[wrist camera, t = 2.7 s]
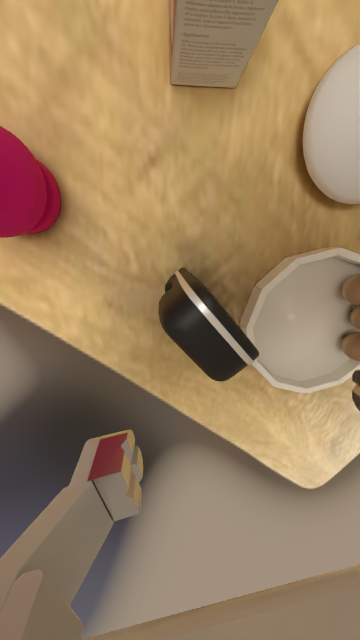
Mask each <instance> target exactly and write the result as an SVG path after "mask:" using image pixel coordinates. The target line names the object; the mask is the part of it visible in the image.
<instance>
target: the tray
mask: <svg viewBox="0 0 360 640" xmlns="http://www.w3.org/2000/svg"><path fill="white" fill-rule="evenodd" d="M357 274H360V254H358V253H355V252H352V251H349V250H346V249H343V248H341V247H325V248H321V249H317V250H313V251H309V252H305V253H301V254H297V255H293V256H289V257H286V258H285V259H283V260H282V261H281V262H280V263H279V264H278V265H277V266H276V267H275V268H273V269H272V270H271V271H270V272H269V273H268V274H267V275H266V276H265V277H263V278H262V279H261V280H260V281H259V282H258V283H257V284H256V285H255V287H253V290H252V292H251V295H250V297H249V300H248V302H247V305H246V308H245V310H244V313H243V315H242V318H241V320H240V328H241V330H242V331H243V332H244V334H245V335H246V336H247V337H248V338H249V340H250V341H251V342H252V343H253V344H254V346H255V347H256V348H257V350H258V351H259V356H258V357H257V358H256V359H255V360H254V363H252V365H253V366H254V367H255V368H256V369H257V370H258V371H259V372H260V373H261V374H262V375H263V376H264V377H265V379H266V380H267V381H268V382H269V383H270V384H271V385H272V386H274V387H277V388H281V389H286V390H291V391H295V392H300V393H304V394H305V393H310V392H314V391H318V390H322V389H326V388H330V387H333V386H337V385H340V384H342V383H343V382H345V381H346V380H347V379H349V378H350V377H351V376H352V374H353V373H354V371H355V370H359V369H360V361H356V360H353V359H351V358H349V357H348V356H347V355H346V354H345V353H344V352H343V350H342V341H343V339H344V338H345V337H346V336H347V335H349V334H351V333H355V332H360V330H359V329H357V328H356V327H355V326H354V325H353V324H352V322H351V318H350V317H351V312H352V310H353V309H354V308H355V307H356V306H358V305H354V304H351V303H349V302H348V301H346V300H345V298H344V297H343V295H342V287H343V284H344V283H345V281H346V280H347V279H349V278H350V277H352V276H354V275H357Z"/></svg>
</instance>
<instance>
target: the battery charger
mask: <svg viewBox="0 0 360 640" xmlns="http://www.w3.org/2000/svg"><path fill="white" fill-rule="evenodd" d="M165 292H166V293H165V294H164V295H163V296H162V298H161V300H160V302H159V318H160V322H161V324H162V327H163V329H164V330H165V332H166V333H167V334H168V335H169V336H170V338H171V339H172V340H173V341H174V342H175V343H176V344H177V345H178V346H179V347H180V348H181V349H182V350H183V351H184V352H185V353H186V354H187V355H188V356H189V357H190V358H191V359H192V360H193V361H194V362H195V363H196V364H197V365H198V366H199V367H200V368H201V369H202V370H203V371H204V372H205V373H206V374H207V375H208V376H209V377H210V378H212V379H213V380H215V381H226V380H228V379H230V378H231V377H233V376H234V375H236V374H237V373H238V372H239V371H241V370H242V369H243V368H245V367H246V366H247V365H249V366H250V365H251V364H252V363H254V360H255V359H256V358H257V357H258V356H259V351H258V350H257V348H256V347H255V346H254V344H253V343H252V342H251V341H250V340H249V338H248V337H247V336H246V335H245V334H244V332H243V331H242V330H241V329H240V328H239V326H238V325H237V324H236V323H235V321H234V320H233V319H232V318H231V317H230V315H229V314H228V313H227V312H226V311H225V309H224V308H223V307H222V306H221V305H220V303H219V302H218V301H217V300H216V299H215V298H214V296H213V295H212V294H211V293H210V292H209V291H208V289H207V288H206V287H205V286H204V285H203V284H202V283H201V282H200V281H199V280H198V279H197V278H195V277H194V276H193V275H192V274H191V273H190V272H188V271H187V270H186V269H185V268H181V269H180V270H177V271H176V272H175V274H174V275H173V276H172V277H171V278H170V279H169V280H168V282H167V283H166V286H165Z"/></svg>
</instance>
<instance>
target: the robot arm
mask: <svg viewBox="0 0 360 640" xmlns="http://www.w3.org/2000/svg"><path fill="white" fill-rule="evenodd" d="M352 381H353V382H354V383H355V384H356V386H355V387H354V389H353V390H352V399H353V401H354V403H355V405H356V407H357V408H358V410H359V411H360V369H359V370H355V371H354V373H353V374H352ZM134 442H135V437H134V434H133V432H132V431H131V430H127V431H122V432H118V433H113V434H110V435H105V436H102V437H98V438H93V439H89V440H88V441H87V442H86V443H85V446H84V448H83V451H82V453H81V456H80V459H79V461H78V464H77V467H76V469H75V472H74V475H73V477H72V480H71V483H70V485H69V487H66V488H64V489H63V490H62V491H61V492H60V493H59V494H58V495H57V496H56V497H55V499H54V500H53V501H52V502H51V503H50V504H49V505H48V506H47V507H46V509H45V510H44V511H43V512H42V513H41V514H40V515H39V516H38V517H37V519H36V520H35V521H34V522H33V523H32V524H31V525H30V526H29V527H28V528H27V530H26V531H25V532H24V533H23V534H22V535H21V536H20V537H19V539H18V540H17V541H16V542H15V543H14V544H13V545H12V546H11V547H10V549H9V550H8V551H7V552H6V553H5V554H4V555H3V556H2V557H1V558H0V640H360V564H359V565H355V566H351V567H348V568H344V569H340V570H337V571H333V572H329V573H325V574H322V575H318V576H315V577H311V578H307V579H303V580H300V581H296V582H292V583H288V584H285V585H282V586H278V587H274V588H270V589H266V590H263V591H259V592H255V593H251V594H248V595H244V596H240V597H237V598H233V599H229V600H226V601H222V602H218V603H215V604H211V605H207V606H203V607H200V608H196V609H192V610H189V611H185V612H182V613H178V614H174V615H171V616H167V617H163V618H160V619H155V620H152V621H148V622H144V623H141V624H137V625H134V626H130V627H126V628H122V629H119V630H115V631H111V632H108V633H104V634H100V635H97V636H93V637H89V638H86V639H82V634H83V629H84V627H83V624H82V622H81V620H80V619H79V618H78V616H77V615H76V614H75V613H74V611H73V610H72V609H71V608H70V604H71V602H72V600H73V598H74V597H75V595H76V593H77V591H78V589H79V587H80V585H81V583H82V582H83V580H84V578H85V576H86V574H87V572H88V570H89V568H90V567H91V565H92V563H93V561H94V559H95V557H96V555H97V553H98V552H99V550H100V548H101V546H102V544H103V542H104V540H105V538H106V536H107V535H108V533H109V531H110V529H111V527H112V525H113V521H116V520H120V519H123V518H126V517H129V516H132V515H136V514H139V513H140V506H141V493H142V490H141V488H140V486H139V482H140V480H141V479H142V477H143V461H142V455H141V452H140V449H139V447H138V446H136V445H134Z"/></svg>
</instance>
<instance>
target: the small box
mask: <svg viewBox="0 0 360 640" xmlns="http://www.w3.org/2000/svg"><path fill="white" fill-rule="evenodd" d="M277 2H278V0H169V50H170V83H171V84H176V85H192V86H210V87H230V88H234V87H236V85H237V83H238V81H239V79H240V77H241V75H242V73H243V71H244V69H245V67H246V65H247V63H248V61H249V59H250V57H251V55H252V53H253V51H254V49H255V47H256V45H257V43H258V41H259V38H260V36H261V34H262V32H263V30H264V28H265V26H266V24H267V22H268V20H269V18H270V16H271V14H272V12H273V10H274V8H275V6H276V4H277Z"/></svg>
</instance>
